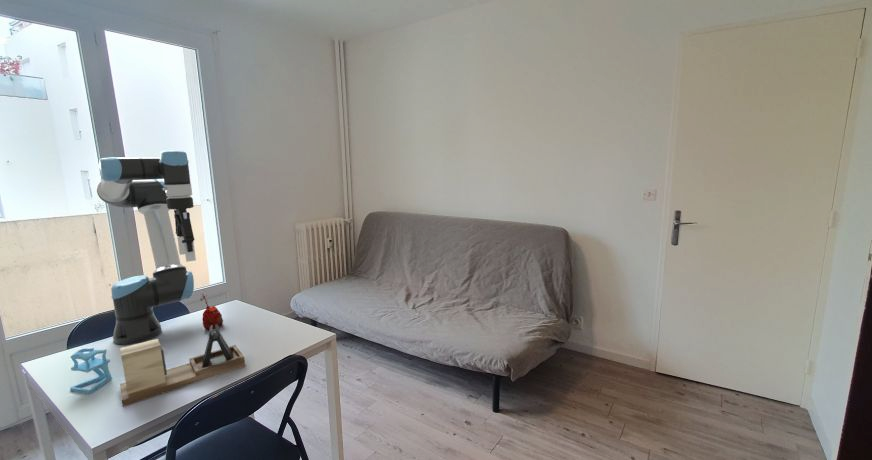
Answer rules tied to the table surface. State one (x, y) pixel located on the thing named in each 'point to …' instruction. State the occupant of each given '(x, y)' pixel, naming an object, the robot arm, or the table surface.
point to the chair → (91, 368)
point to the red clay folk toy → (211, 316)
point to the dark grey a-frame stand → (223, 346)
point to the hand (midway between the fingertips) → (187, 257)
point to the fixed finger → (143, 365)
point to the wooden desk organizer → (185, 376)
